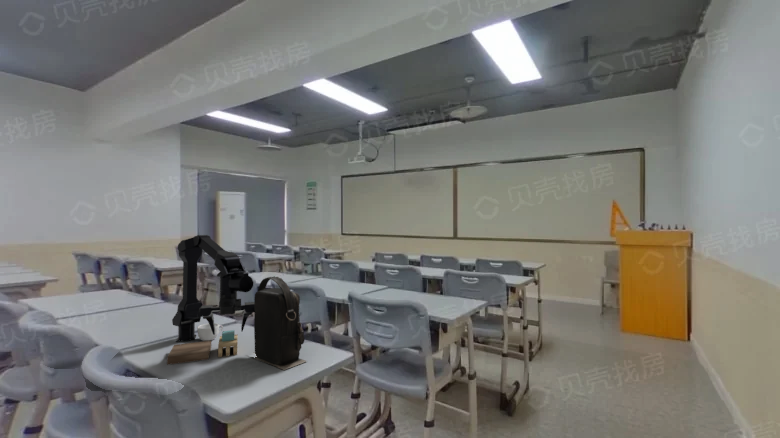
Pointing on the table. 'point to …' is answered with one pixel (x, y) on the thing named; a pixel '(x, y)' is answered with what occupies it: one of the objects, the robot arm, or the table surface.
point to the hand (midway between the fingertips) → (228, 332)
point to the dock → (189, 352)
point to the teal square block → (228, 335)
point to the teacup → (208, 332)
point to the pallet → (227, 346)
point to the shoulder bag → (277, 325)
